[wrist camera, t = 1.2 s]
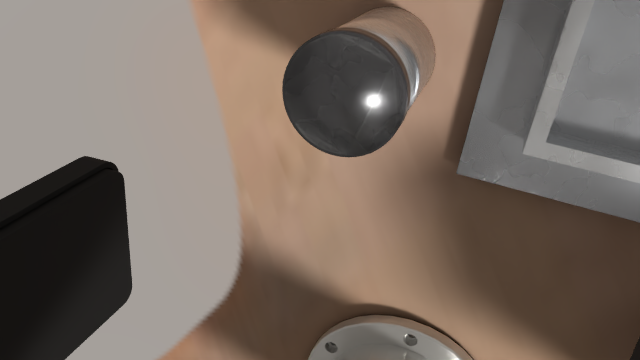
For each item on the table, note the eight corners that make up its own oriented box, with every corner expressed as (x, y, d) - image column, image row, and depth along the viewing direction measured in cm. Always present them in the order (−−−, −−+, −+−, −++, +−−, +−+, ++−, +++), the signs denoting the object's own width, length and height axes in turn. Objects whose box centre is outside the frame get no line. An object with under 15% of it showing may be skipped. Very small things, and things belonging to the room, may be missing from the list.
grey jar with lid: (425, 114, 31) (391, 171, 24) (333, 91, 32) (276, 139, 25) (448, 15, 28) (418, 47, 21) (348, -5, 29) (289, 19, 23)
